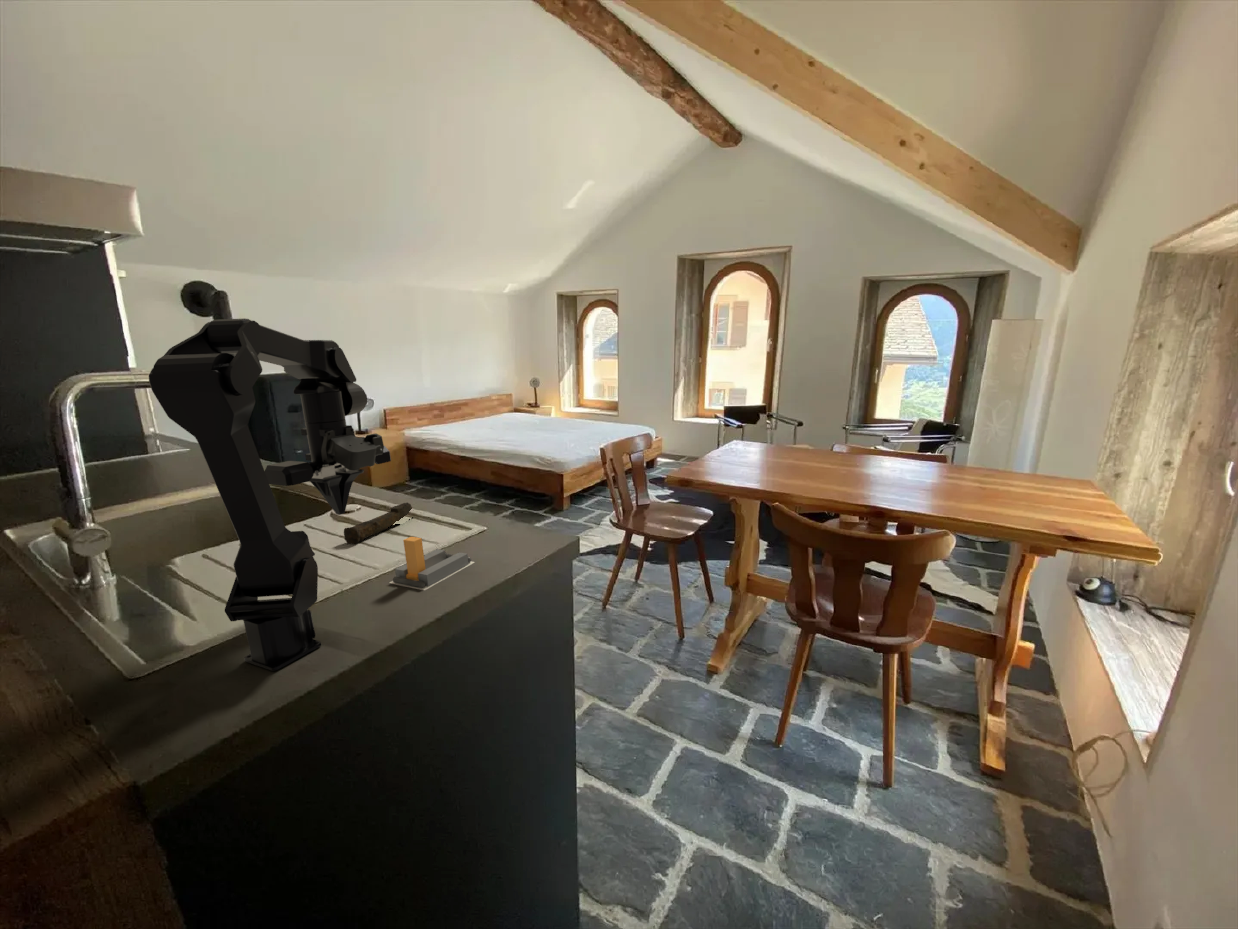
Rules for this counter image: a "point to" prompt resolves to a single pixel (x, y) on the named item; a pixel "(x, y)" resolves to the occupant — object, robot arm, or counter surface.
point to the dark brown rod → (376, 524)
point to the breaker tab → (414, 557)
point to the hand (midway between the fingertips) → (340, 514)
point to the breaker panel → (433, 569)
